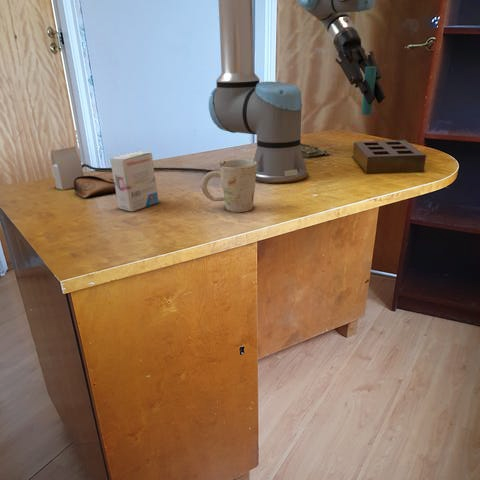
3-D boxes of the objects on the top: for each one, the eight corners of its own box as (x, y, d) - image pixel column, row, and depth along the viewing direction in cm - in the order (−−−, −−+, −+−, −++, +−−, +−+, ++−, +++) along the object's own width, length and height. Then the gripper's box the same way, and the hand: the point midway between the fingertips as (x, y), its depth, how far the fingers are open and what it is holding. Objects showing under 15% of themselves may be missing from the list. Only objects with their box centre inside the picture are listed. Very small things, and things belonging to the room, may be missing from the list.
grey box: (85, 184, 136) (78, 147, 131) (62, 189, 132) (54, 151, 127) (78, 182, 139) (71, 145, 134) (56, 187, 135) (47, 149, 130)
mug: (257, 213, 109) (257, 167, 104) (201, 215, 109) (197, 169, 104) (257, 202, 116) (256, 158, 111) (204, 203, 116) (201, 160, 111)
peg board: (366, 173, 136) (367, 156, 134) (352, 156, 155) (354, 141, 153) (423, 171, 135) (426, 155, 133) (403, 155, 155) (405, 140, 152)
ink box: (145, 199, 121) (138, 149, 115) (159, 202, 118) (153, 151, 113) (117, 208, 116) (109, 156, 110) (131, 212, 113) (123, 158, 107)
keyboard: (272, 147, 172) (272, 141, 171) (294, 144, 175) (294, 138, 174) (307, 158, 155) (307, 151, 154) (330, 154, 158) (331, 148, 157)
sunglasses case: (84, 197, 123) (75, 171, 123) (79, 206, 129) (71, 181, 129) (150, 185, 131) (142, 161, 131) (143, 193, 137) (135, 170, 137)
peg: (362, 115, 151) (366, 67, 145) (360, 113, 154) (364, 66, 147) (373, 114, 151) (377, 67, 144) (370, 113, 154) (375, 66, 147)
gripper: (329, 28, 145) (362, 93, 141) (372, 26, 152) (404, 89, 147) (318, 48, 152) (348, 111, 147) (359, 46, 158) (390, 107, 154)
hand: (376, 100), depth 147 cm, fingers closed on peg, 3 cm apart
